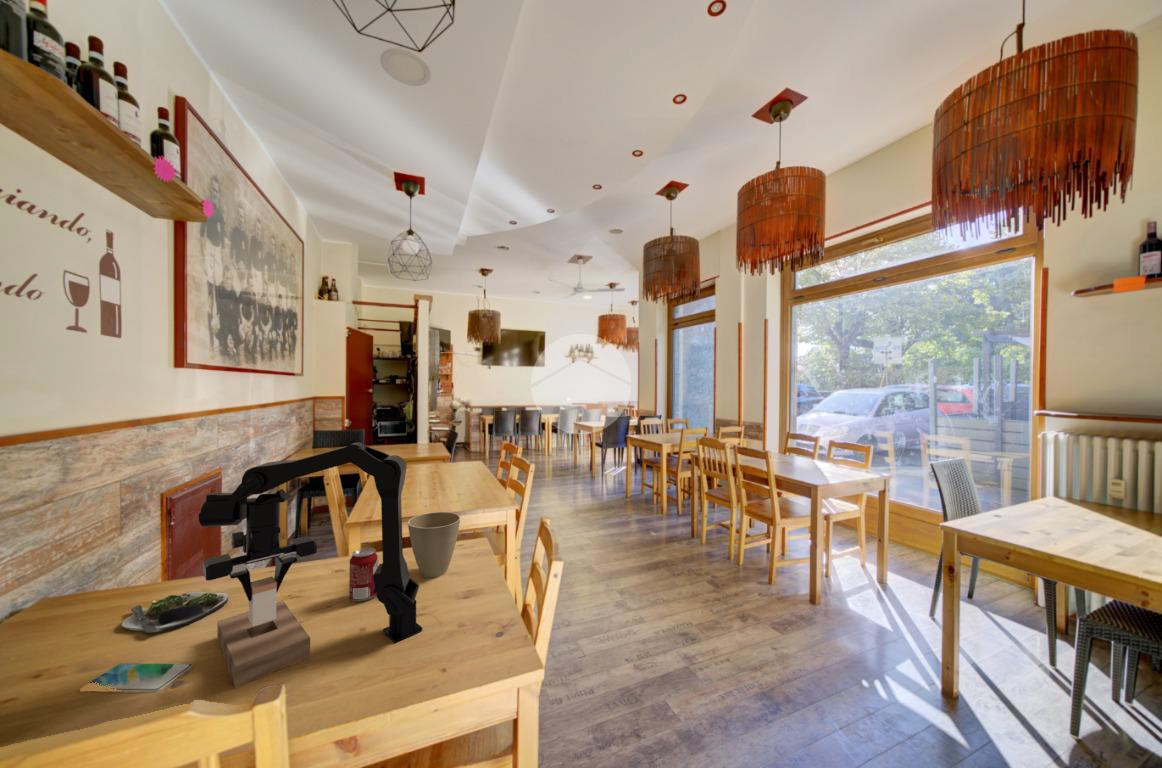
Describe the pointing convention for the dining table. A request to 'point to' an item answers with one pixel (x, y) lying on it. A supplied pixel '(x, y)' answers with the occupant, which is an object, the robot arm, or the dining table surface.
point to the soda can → (362, 574)
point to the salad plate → (174, 612)
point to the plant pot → (433, 541)
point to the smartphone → (142, 676)
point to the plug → (263, 601)
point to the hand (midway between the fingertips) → (262, 596)
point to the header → (261, 644)
